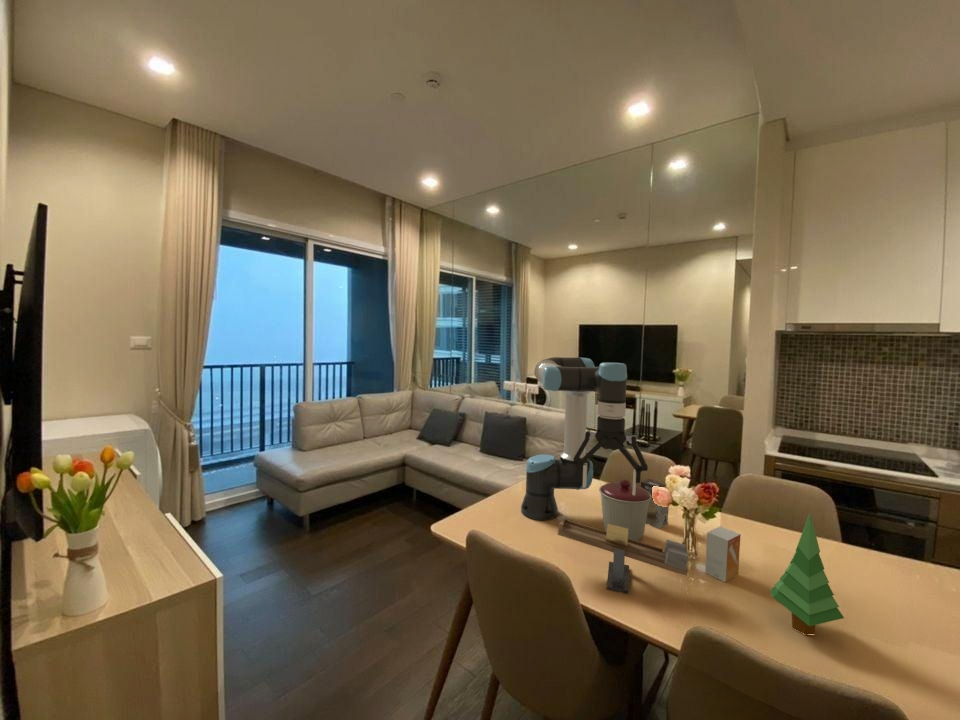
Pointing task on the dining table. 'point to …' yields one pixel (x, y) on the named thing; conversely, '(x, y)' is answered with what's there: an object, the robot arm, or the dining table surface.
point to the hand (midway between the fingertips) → (608, 489)
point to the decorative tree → (807, 586)
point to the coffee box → (655, 507)
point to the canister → (625, 507)
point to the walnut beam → (629, 547)
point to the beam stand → (618, 573)
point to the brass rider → (617, 535)
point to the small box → (722, 553)
